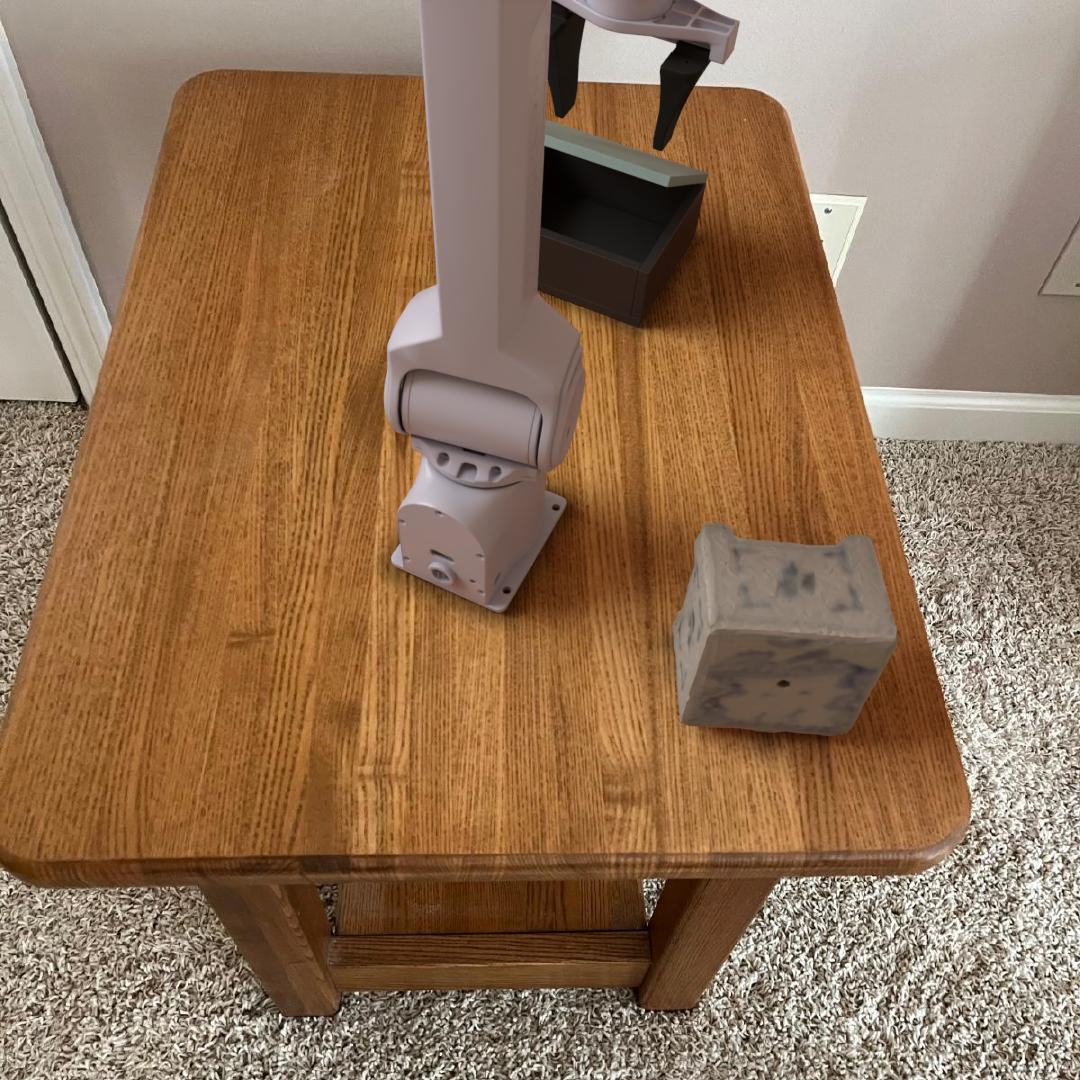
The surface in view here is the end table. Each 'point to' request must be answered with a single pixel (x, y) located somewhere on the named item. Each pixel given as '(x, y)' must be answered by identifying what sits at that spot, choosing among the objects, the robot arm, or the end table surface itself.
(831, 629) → the incense holder
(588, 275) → the case
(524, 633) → the end table surface
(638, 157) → the lid
